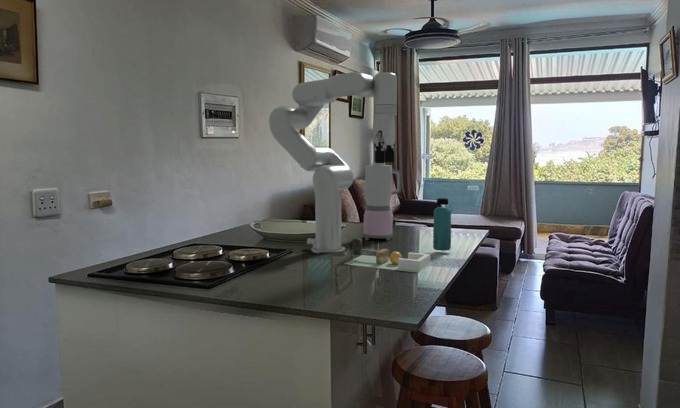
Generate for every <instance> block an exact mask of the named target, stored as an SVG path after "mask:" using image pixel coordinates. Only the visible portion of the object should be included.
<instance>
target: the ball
mask: <svg viewBox="0 0 680 408" xmlns="http://www.w3.org/2000/svg"><path fill="white" fill-rule="evenodd" d="M389 258H390V261H391V262H392V263H393V264H398V259H399V258H403V255H402V254H401V252H399V251H392V252H391V253H389Z"/></svg>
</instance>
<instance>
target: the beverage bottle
mask: <svg viewBox="0 0 680 408" xmlns="http://www.w3.org/2000/svg"><path fill="white" fill-rule="evenodd" d="M436 205H441V206H442V205H443V206H442V207H441V206H440V207H439V206H437V207H436V208H435V209H434V210H433V228H432V229H433V230H432V235H433V236H432V248H433V250H435V251H442V252H443V251H445V252H446V251H450V250H451V247H452V210H451V209H450V208H449V207H444V205H449V199H448V198H444V197H439V198H437V199H436Z"/></svg>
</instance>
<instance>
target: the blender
mask: <svg viewBox="0 0 680 408" xmlns="http://www.w3.org/2000/svg"><path fill="white" fill-rule="evenodd" d="M363 167H364V169H365V172H364V173H365V174H364V192H365V193H364V194H365V198H366V199H365V200H366V209H365V211H364V213H363V237H364V240H365V241H369V240H370V238H371V239H385V241H386V242H389V241H391V238H392V237H393V227H395V226H396V219H394V218H393V217H394V213H393V211H392V210H391V205H390V204H391V199H392V195H397V194H400V193H401V191H402V172H401V171H400V170H399V169H395V168H393V166H392V165H390V164H386V162H385V163H375V161H373V162H372V164H369V165H368V164H367V165H363ZM393 174H395V175H396V177H397V181H396V182H397V183H396V185H397V186H396V189H393ZM388 240H389V241H388Z"/></svg>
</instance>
